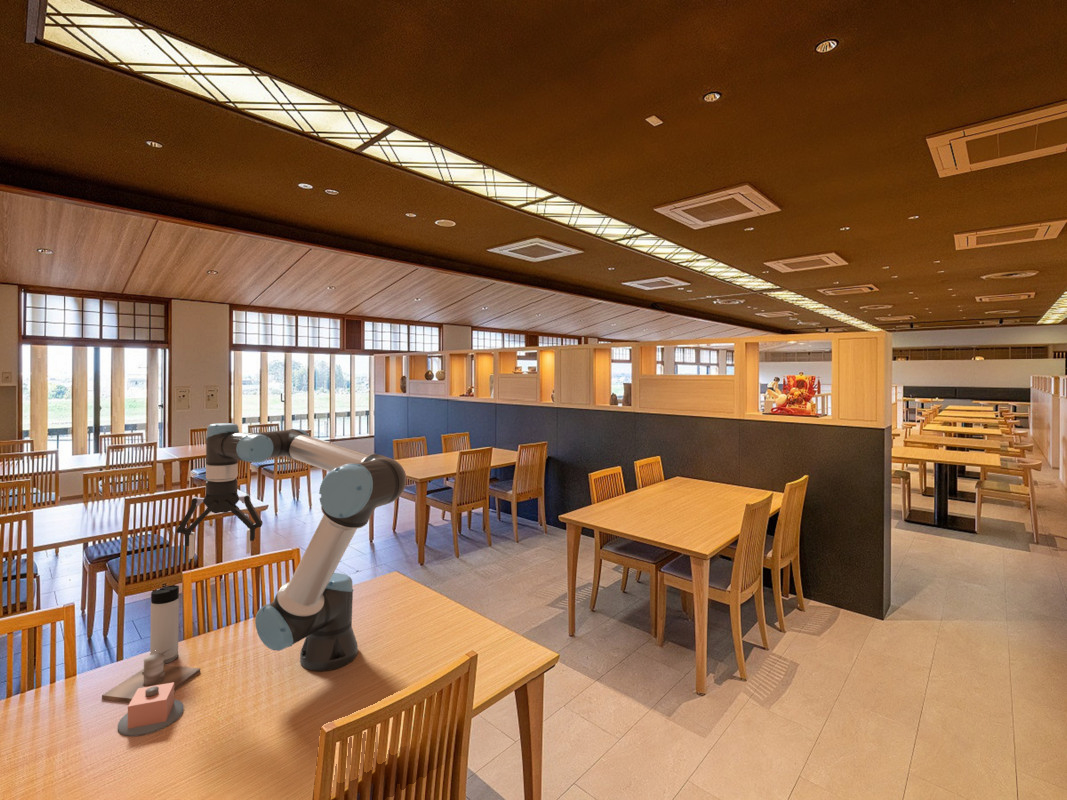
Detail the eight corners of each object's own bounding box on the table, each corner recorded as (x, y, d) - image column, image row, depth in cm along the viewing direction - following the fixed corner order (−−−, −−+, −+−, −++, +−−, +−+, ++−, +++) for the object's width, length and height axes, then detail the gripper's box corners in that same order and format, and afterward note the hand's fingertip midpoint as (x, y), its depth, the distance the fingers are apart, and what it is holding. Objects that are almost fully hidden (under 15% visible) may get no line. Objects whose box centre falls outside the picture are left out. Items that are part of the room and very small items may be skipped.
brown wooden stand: (200, 672, 133) (200, 646, 133) (154, 705, 119) (155, 676, 119) (152, 667, 135) (152, 641, 135) (101, 699, 121) (102, 670, 121)
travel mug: (164, 666, 135) (165, 593, 134) (144, 663, 136) (144, 590, 136) (184, 654, 141) (185, 584, 140) (165, 651, 142) (166, 581, 142)
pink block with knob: (166, 721, 113) (166, 695, 113) (127, 728, 110) (127, 702, 110) (174, 702, 120) (174, 678, 119) (137, 709, 117) (138, 684, 117)
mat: (196, 704, 120) (196, 701, 120) (152, 739, 108) (153, 736, 108) (150, 698, 122) (150, 696, 122) (102, 732, 110) (103, 730, 110)
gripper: (273, 474, 148) (271, 546, 149) (171, 478, 138) (170, 554, 139) (271, 479, 141) (269, 554, 142) (163, 483, 131) (162, 564, 132)
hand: (220, 554), depth 140 cm, fingers open, 13 cm apart
